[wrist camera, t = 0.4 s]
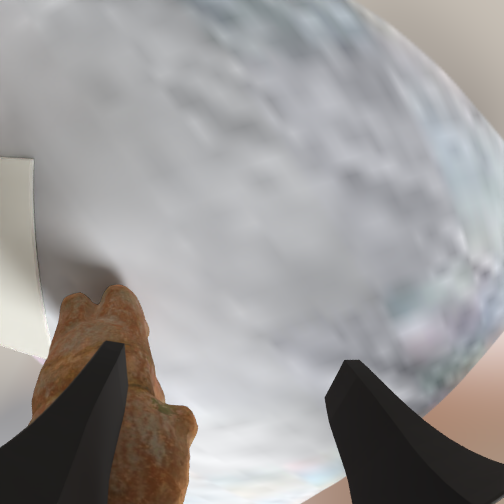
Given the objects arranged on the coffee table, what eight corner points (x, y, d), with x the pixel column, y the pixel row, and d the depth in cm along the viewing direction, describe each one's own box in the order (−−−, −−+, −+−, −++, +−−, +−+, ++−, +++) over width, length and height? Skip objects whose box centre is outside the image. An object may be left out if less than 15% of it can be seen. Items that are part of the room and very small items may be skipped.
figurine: (86, 336, 20) (96, 545, 9) (26, 255, 15) (-12, 534, 4) (194, 312, 21) (248, 538, 10) (159, 215, 16) (212, 562, 5)
